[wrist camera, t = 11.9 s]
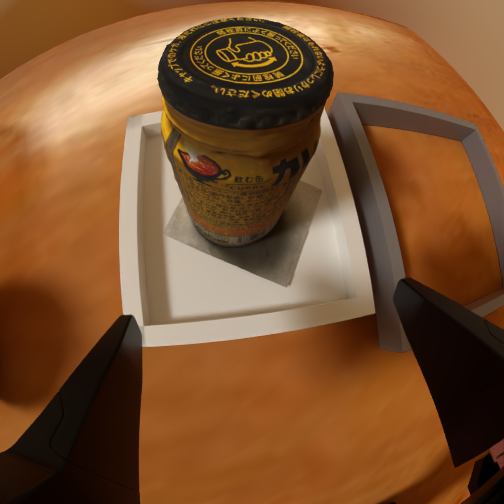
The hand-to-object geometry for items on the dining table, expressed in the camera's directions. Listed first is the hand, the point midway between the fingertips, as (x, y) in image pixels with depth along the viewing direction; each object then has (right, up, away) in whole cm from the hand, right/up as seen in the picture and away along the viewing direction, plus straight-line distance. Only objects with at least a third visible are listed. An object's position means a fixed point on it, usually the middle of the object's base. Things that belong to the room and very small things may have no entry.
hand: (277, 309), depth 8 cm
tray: (-2, +4, +10) cm, 11 cm away
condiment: (-1, +4, +10) cm, 11 cm away
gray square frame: (+17, +6, +12) cm, 22 cm away
